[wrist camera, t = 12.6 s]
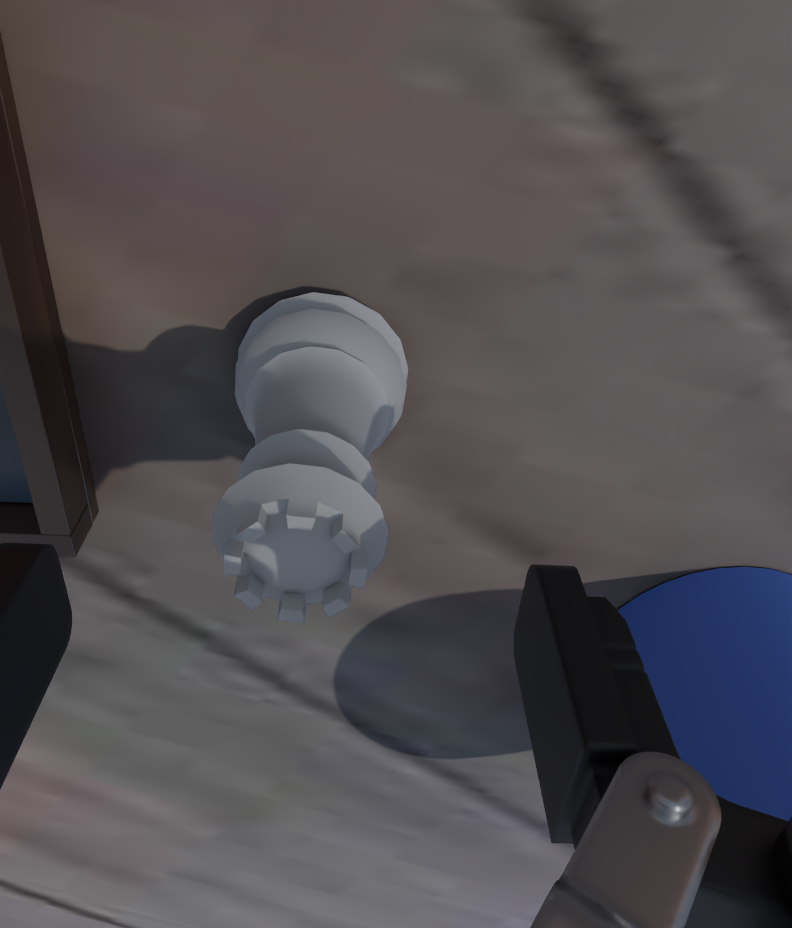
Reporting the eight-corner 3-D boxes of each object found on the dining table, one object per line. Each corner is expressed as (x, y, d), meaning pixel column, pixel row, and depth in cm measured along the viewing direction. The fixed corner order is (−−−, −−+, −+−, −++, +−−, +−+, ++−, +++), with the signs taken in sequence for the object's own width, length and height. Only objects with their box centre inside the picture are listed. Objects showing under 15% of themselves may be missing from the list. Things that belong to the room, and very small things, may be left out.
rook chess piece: (434, 400, 20) (461, 612, 13) (292, 458, 21) (252, 683, 14) (361, 255, 18) (350, 425, 11) (206, 328, 19) (110, 526, 12)
